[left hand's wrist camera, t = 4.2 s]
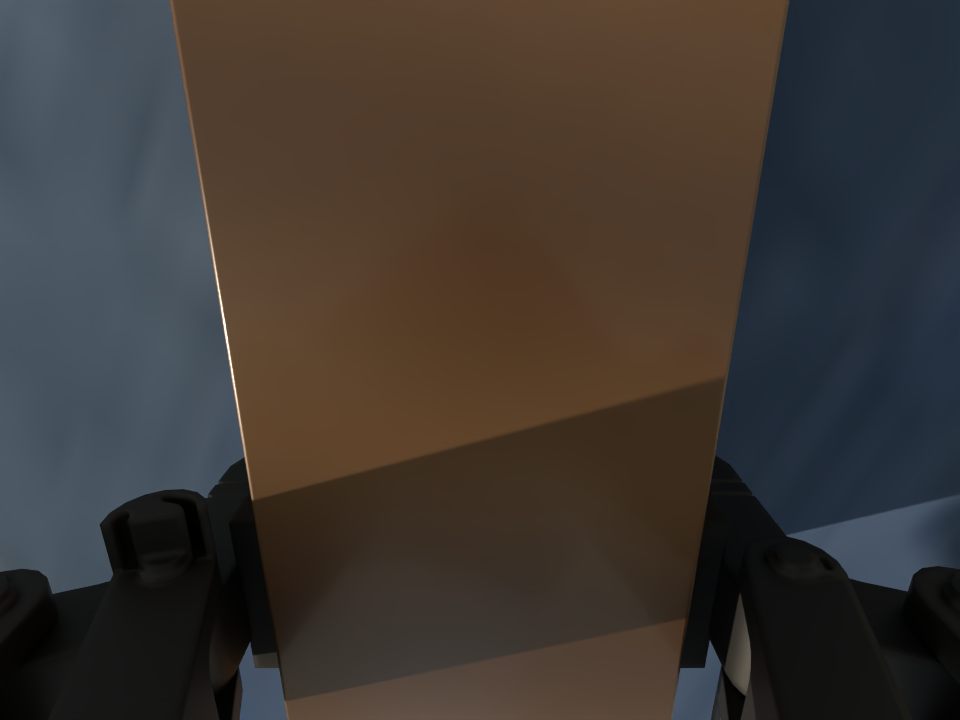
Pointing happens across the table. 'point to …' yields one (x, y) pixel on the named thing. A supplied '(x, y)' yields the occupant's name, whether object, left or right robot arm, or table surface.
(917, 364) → the table surface
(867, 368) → the table surface
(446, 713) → the beam
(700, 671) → the table surface
